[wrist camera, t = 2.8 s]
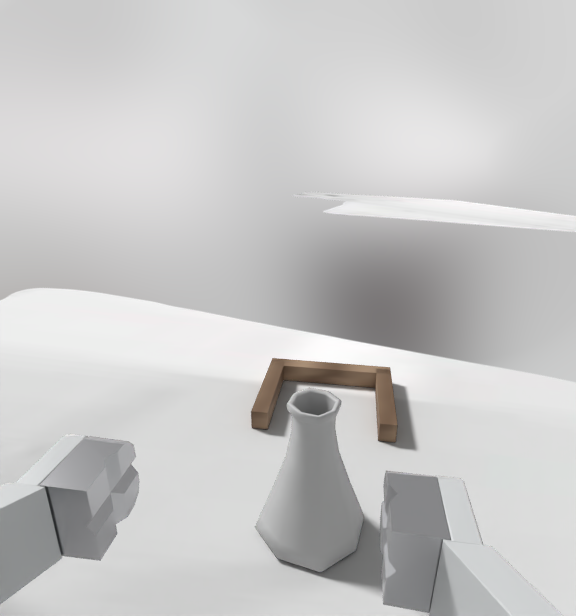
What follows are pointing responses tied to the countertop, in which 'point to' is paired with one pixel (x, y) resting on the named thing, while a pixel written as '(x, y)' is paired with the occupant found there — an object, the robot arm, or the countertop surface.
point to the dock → (328, 375)
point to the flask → (312, 490)
